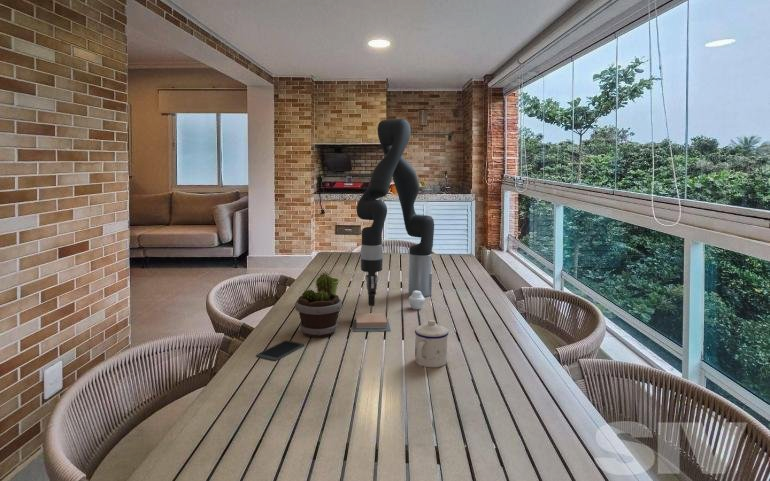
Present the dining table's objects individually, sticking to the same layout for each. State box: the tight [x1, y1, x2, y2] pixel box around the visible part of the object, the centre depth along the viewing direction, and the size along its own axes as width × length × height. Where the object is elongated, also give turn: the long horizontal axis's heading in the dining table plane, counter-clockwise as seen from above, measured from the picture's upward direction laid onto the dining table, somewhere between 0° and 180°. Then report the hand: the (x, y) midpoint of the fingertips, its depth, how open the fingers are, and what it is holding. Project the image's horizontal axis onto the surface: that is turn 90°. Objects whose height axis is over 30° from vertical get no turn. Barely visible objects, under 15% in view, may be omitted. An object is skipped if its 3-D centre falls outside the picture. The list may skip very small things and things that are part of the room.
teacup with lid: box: [414, 319, 449, 368], centre depth 131 cm, size 12×9×12 cm
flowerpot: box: [294, 271, 343, 338], centre depth 154 cm, size 14×15×20 cm
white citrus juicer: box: [408, 291, 426, 310], centre depth 183 cm, size 6×6×7 cm
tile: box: [355, 312, 387, 328], centre depth 164 cm, size 10×2×10 cm
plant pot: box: [314, 277, 340, 295], centre depth 190 cm, size 9×9×9 cm
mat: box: [352, 318, 392, 333], centre depth 163 cm, size 12×12×1 cm
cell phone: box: [255, 340, 305, 362], centre depth 140 cm, size 7×14×1 cm, turn 154°
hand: (371, 305), depth 172 cm, fingers closed
